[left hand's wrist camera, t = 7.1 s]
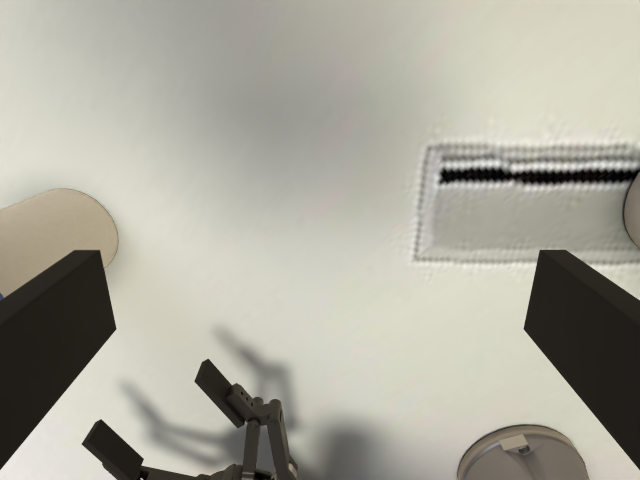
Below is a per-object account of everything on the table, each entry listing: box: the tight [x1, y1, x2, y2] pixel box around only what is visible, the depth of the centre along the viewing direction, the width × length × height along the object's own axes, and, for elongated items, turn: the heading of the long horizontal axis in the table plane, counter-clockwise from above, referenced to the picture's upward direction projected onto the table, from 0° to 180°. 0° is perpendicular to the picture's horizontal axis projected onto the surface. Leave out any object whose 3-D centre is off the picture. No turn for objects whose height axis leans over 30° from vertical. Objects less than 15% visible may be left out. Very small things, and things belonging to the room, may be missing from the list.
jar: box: [0, 189, 118, 298], centre depth 34 cm, size 9×9×17 cm
